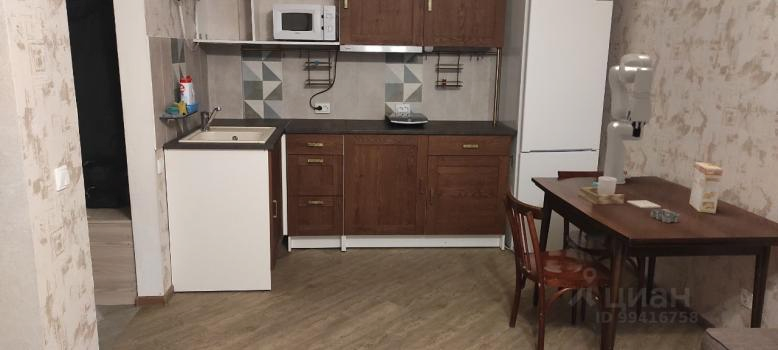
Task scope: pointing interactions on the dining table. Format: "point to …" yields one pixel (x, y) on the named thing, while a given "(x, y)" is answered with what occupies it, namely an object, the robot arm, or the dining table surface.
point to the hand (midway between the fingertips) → (636, 136)
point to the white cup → (606, 185)
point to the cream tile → (644, 204)
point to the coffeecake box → (705, 187)
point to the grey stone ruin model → (664, 215)
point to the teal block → (595, 184)
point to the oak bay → (600, 196)
